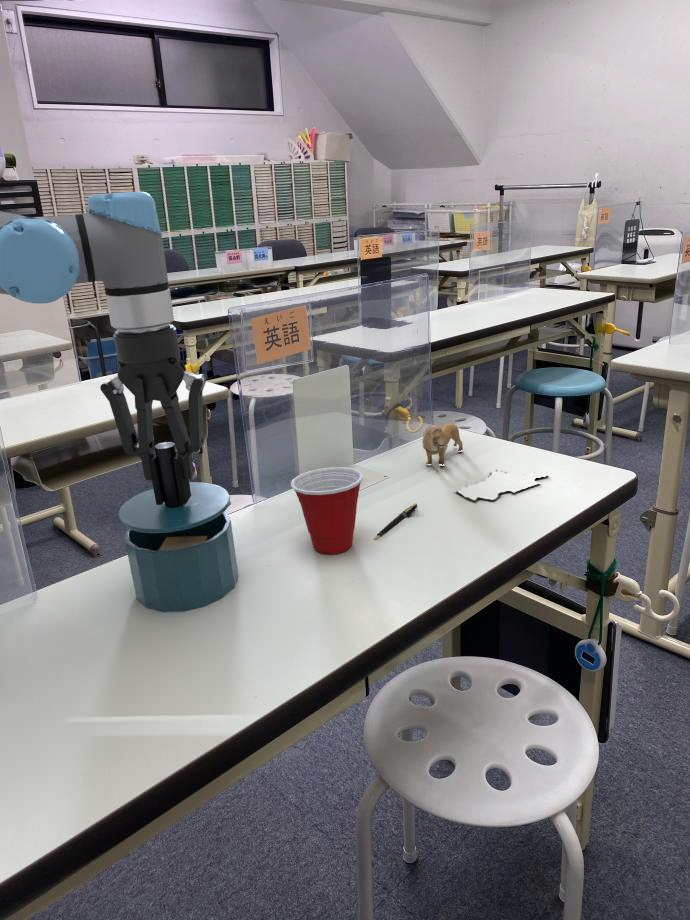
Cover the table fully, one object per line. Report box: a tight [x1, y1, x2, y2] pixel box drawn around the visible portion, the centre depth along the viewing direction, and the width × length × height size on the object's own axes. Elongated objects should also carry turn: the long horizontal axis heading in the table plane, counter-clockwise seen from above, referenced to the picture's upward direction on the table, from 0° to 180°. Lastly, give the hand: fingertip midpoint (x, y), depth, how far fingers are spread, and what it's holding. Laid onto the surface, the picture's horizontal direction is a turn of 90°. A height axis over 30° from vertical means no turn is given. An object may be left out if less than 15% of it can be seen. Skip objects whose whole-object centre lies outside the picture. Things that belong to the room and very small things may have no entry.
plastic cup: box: [290, 466, 364, 556], centre depth 103 cm, size 11×11×12 cm
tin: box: [123, 511, 239, 613], centre depth 96 cm, size 14×14×10 cm
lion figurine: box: [422, 422, 464, 465], centre depth 135 cm, size 15×5×9 cm, turn 154°
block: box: [158, 536, 208, 551], centre depth 96 cm, size 6×6×6 cm
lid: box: [117, 441, 231, 533], centre depth 92 cm, size 15×15×10 cm
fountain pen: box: [373, 502, 418, 541], centre depth 111 cm, size 14×1×2 cm, turn 146°
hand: (174, 499), depth 93 cm, fingers closed on lid, 3 cm apart
